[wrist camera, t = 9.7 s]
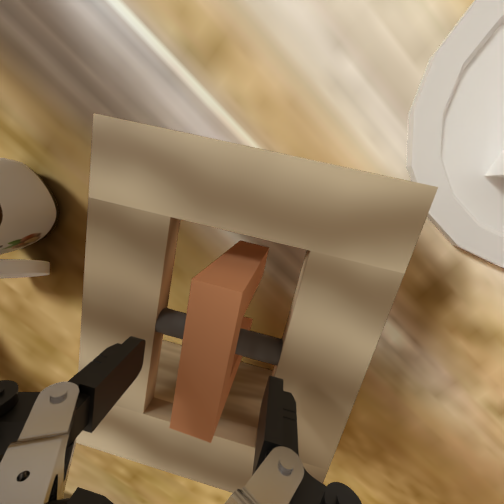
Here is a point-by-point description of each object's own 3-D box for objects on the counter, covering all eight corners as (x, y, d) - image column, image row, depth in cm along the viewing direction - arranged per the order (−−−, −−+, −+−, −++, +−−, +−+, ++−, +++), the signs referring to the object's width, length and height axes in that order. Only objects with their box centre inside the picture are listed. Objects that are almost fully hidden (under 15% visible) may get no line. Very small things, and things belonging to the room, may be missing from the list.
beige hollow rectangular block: (181, 149, 25) (93, 112, 14) (364, 190, 24) (438, 187, 12) (153, 348, 31) (74, 442, 19) (300, 390, 30) (309, 517, 18)
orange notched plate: (240, 240, 22) (191, 278, 13) (269, 247, 22) (242, 292, 12) (221, 335, 25) (169, 428, 15) (247, 342, 24) (211, 443, 15)
